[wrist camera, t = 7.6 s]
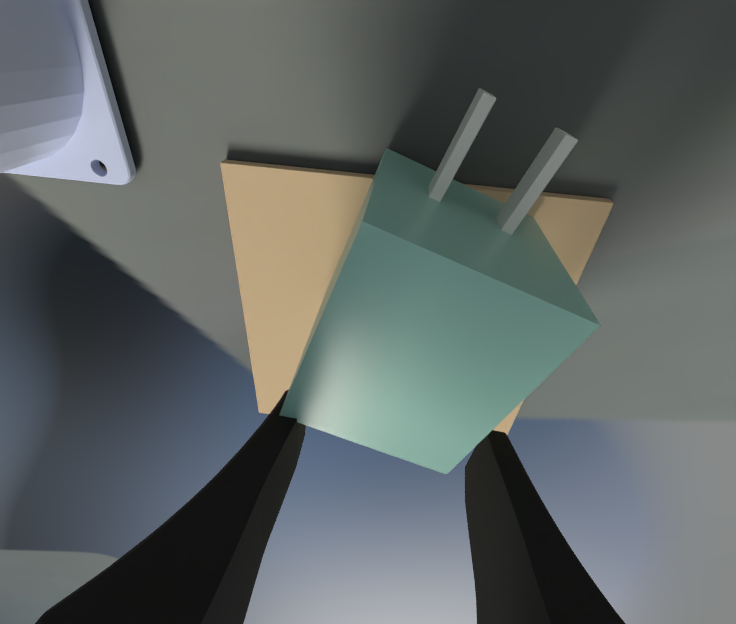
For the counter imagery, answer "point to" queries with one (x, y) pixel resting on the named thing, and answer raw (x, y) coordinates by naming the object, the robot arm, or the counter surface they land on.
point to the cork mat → (338, 252)
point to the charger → (439, 310)
